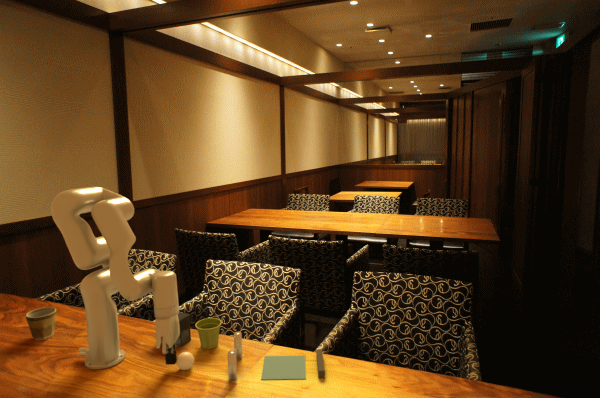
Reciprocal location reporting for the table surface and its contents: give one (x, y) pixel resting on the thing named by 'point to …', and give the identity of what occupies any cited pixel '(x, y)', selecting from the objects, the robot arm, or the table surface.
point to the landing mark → (283, 367)
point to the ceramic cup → (41, 322)
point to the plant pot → (208, 332)
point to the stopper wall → (320, 364)
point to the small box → (184, 329)
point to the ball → (185, 361)
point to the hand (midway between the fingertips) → (171, 363)
